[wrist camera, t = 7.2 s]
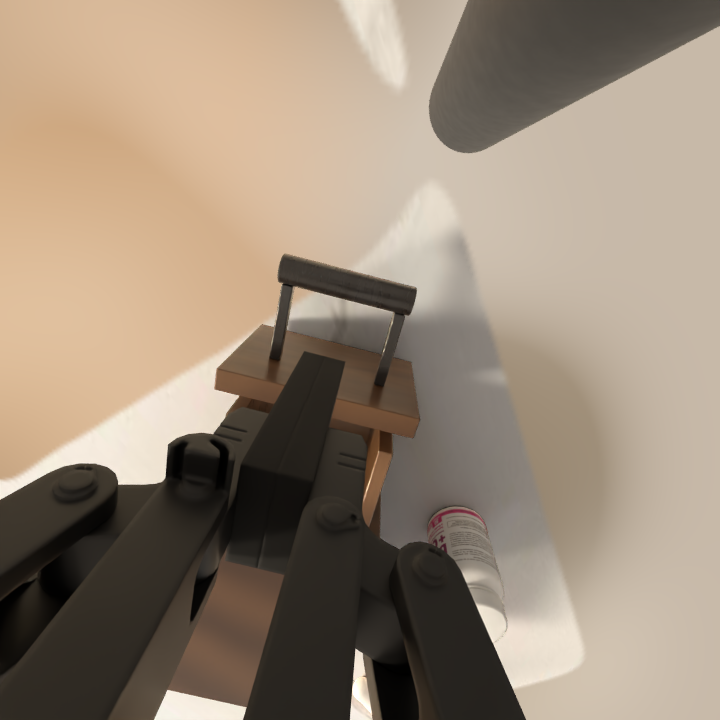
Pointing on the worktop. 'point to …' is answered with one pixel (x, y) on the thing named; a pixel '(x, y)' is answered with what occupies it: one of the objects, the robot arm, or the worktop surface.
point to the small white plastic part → (362, 692)
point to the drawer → (362, 368)
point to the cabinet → (233, 632)
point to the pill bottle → (472, 562)
